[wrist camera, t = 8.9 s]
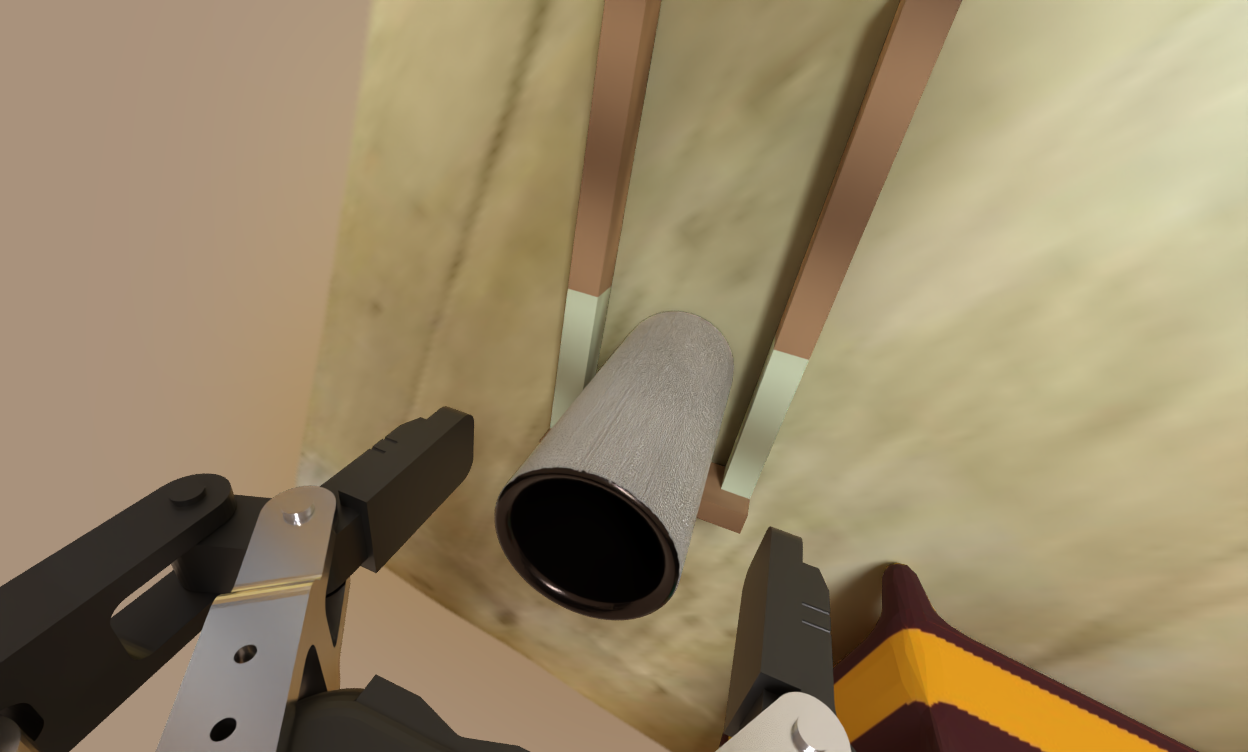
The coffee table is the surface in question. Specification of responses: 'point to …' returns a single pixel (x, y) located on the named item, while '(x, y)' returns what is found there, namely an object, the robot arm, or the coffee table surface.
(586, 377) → the guide channel
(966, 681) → the decorative lantern
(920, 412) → the coffee table surface
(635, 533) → the grey hollow cylinder
